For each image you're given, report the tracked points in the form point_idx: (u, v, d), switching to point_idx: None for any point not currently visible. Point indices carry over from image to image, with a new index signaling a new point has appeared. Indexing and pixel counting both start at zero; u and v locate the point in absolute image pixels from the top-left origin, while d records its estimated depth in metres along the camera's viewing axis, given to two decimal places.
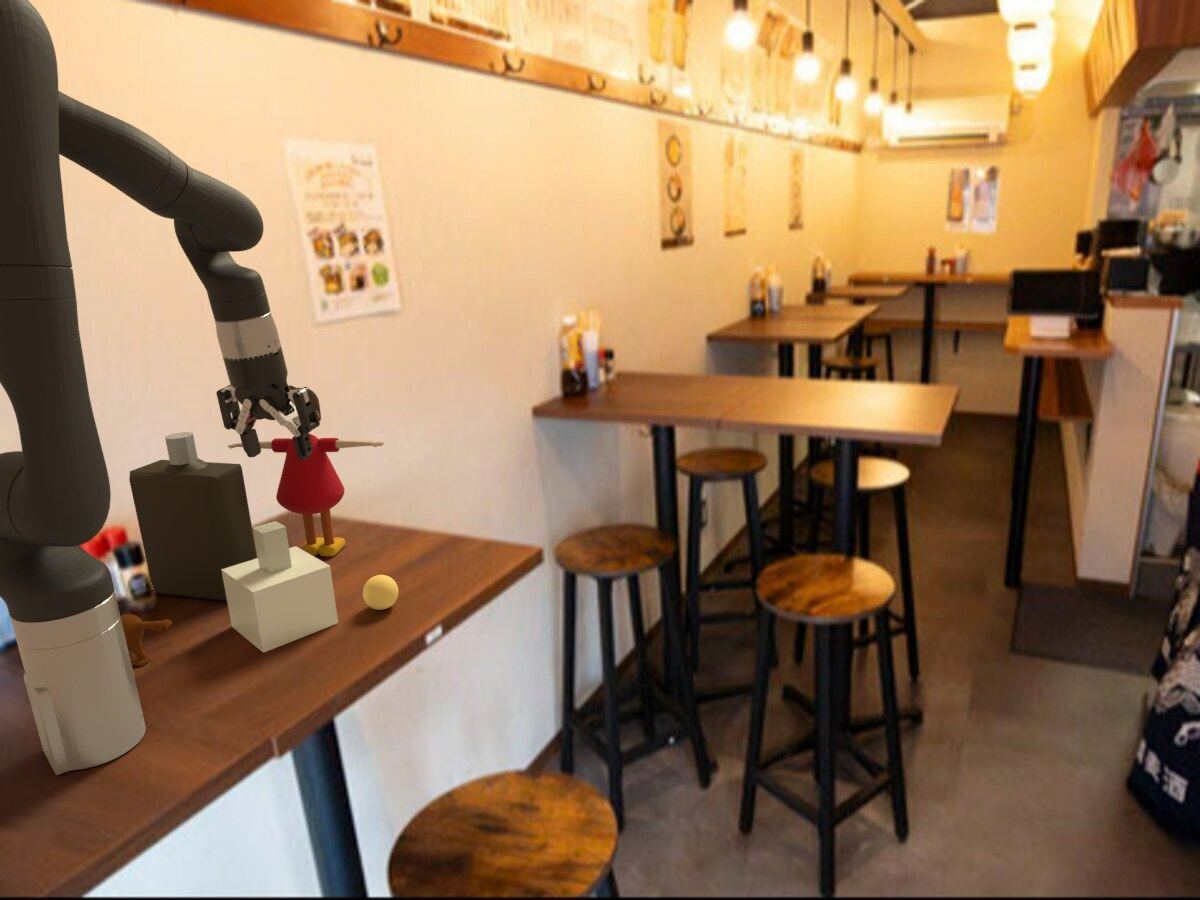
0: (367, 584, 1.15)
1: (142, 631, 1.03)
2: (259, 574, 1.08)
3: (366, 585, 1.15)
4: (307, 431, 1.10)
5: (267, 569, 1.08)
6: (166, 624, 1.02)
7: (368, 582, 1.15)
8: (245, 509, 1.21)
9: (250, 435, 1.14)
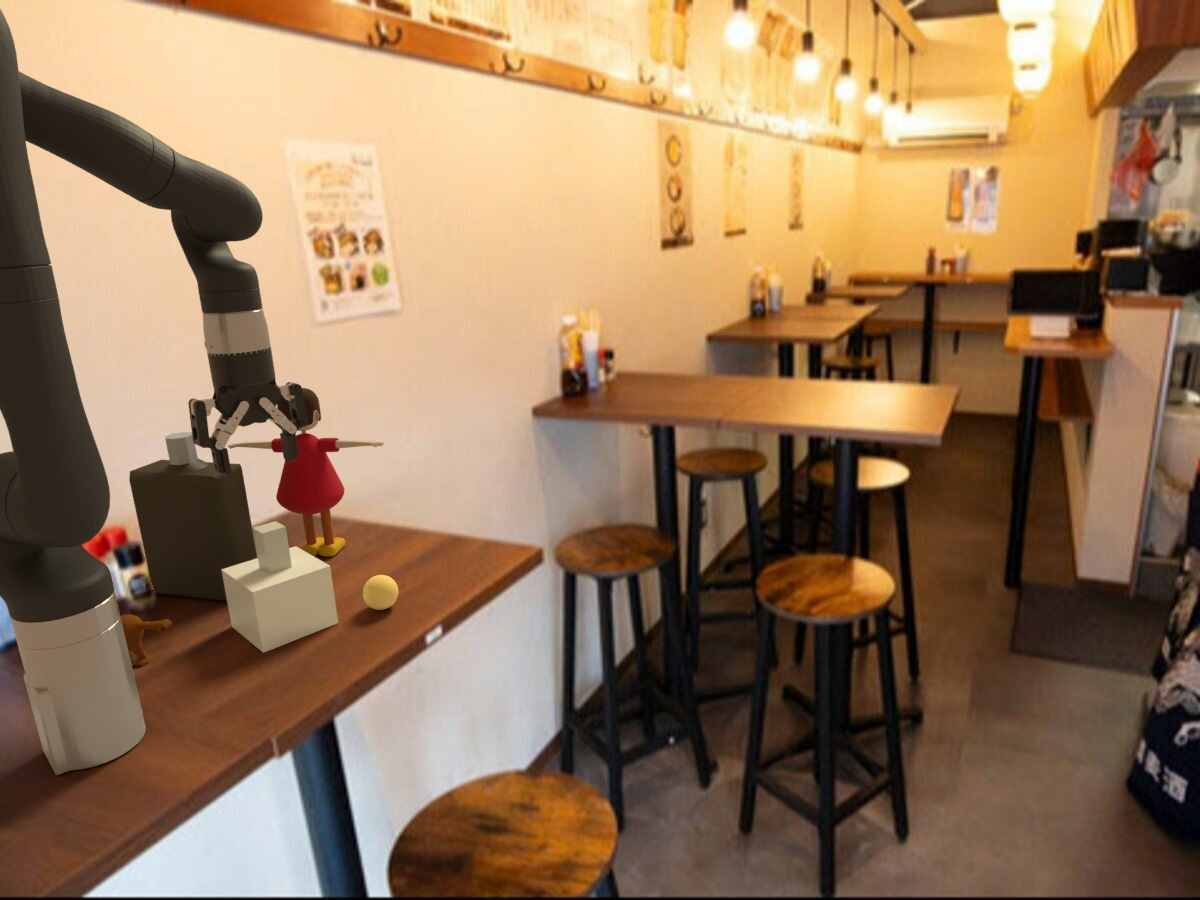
0: (367, 584, 1.15)
1: (142, 631, 1.03)
2: (259, 574, 1.08)
3: (366, 585, 1.15)
4: (306, 424, 1.09)
5: (267, 569, 1.08)
6: (166, 624, 1.02)
7: (368, 582, 1.15)
8: (245, 509, 1.21)
9: None
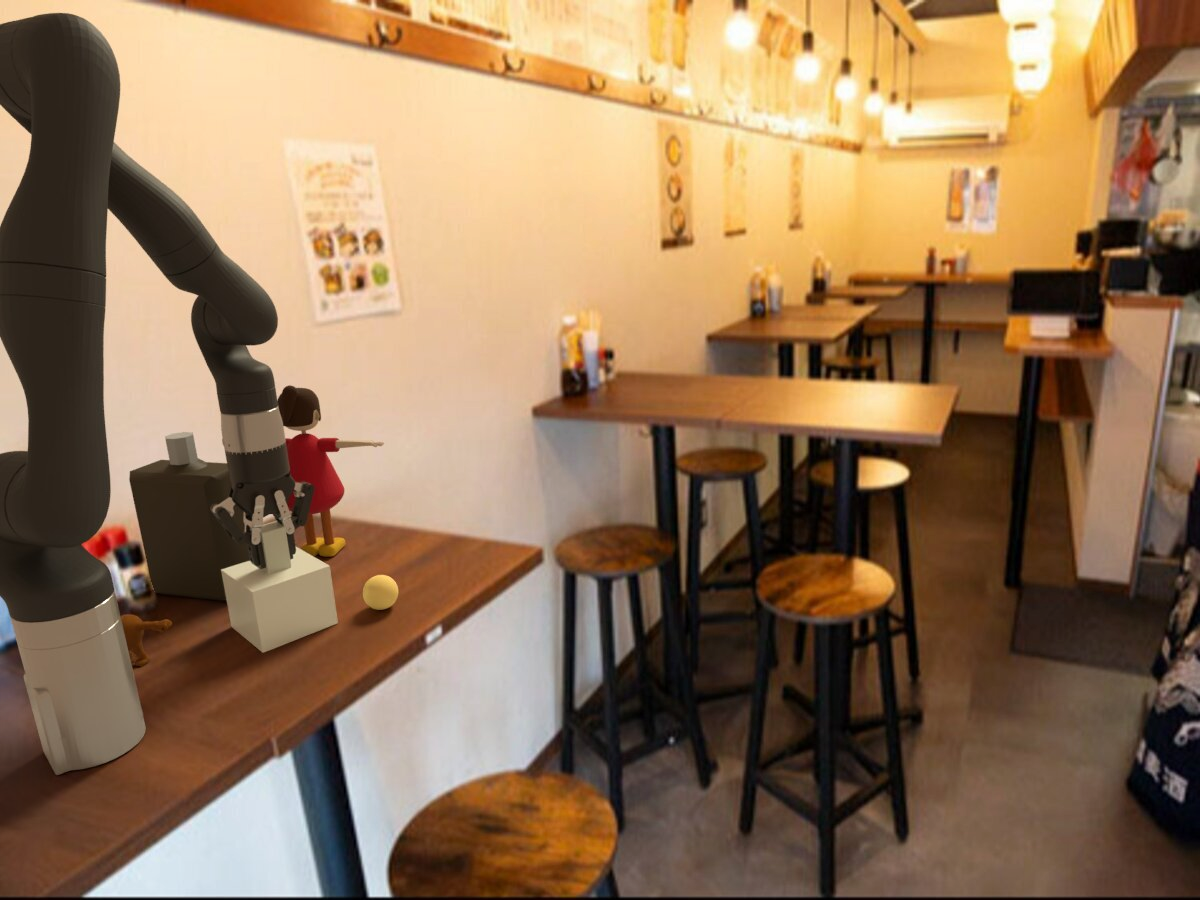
0: (367, 584, 1.15)
1: (142, 631, 1.03)
2: (259, 574, 1.08)
3: (366, 585, 1.15)
4: (303, 523, 1.11)
5: (267, 569, 1.08)
6: (166, 624, 1.02)
7: (368, 582, 1.15)
8: None
9: None
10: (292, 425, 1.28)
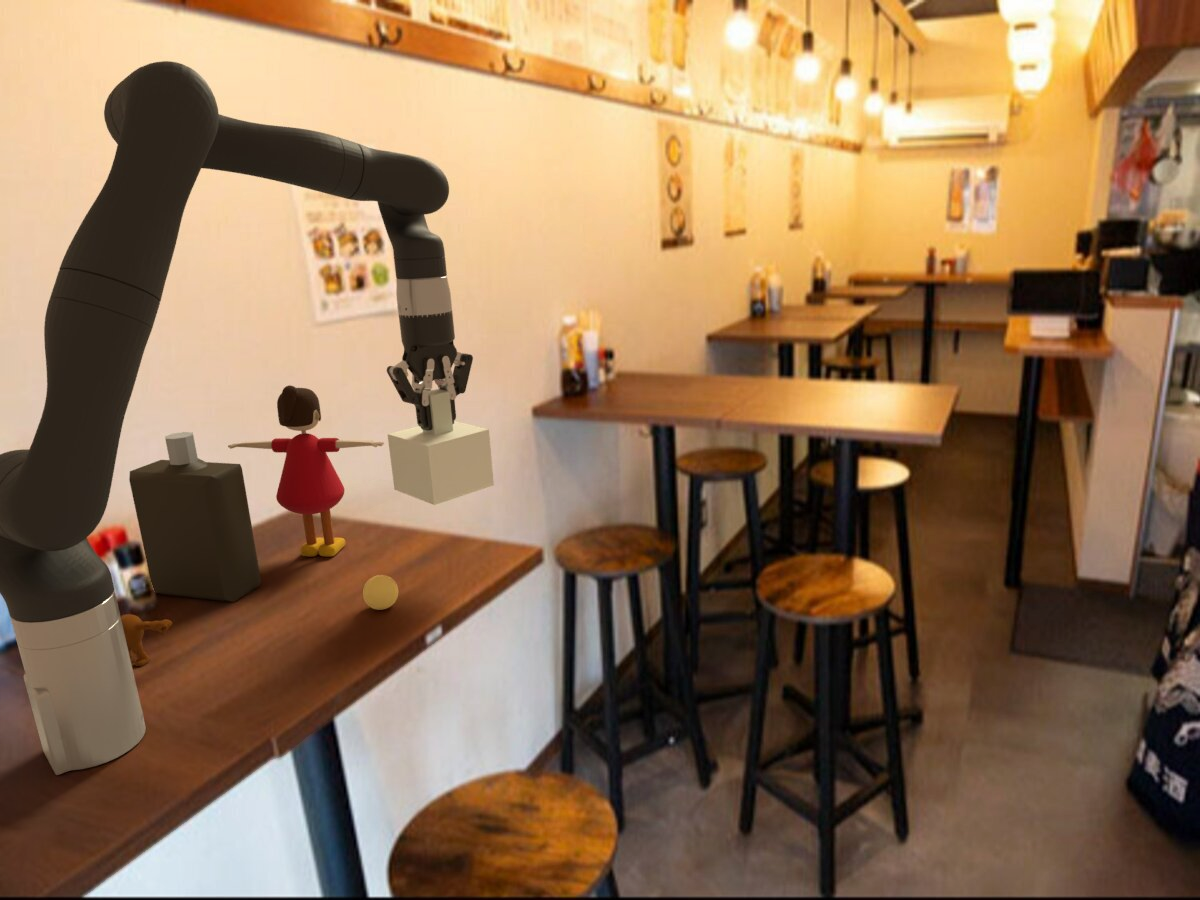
0: (367, 584, 1.15)
1: (142, 631, 1.03)
2: (425, 435, 1.17)
3: (366, 585, 1.15)
4: (463, 391, 1.19)
5: (433, 431, 1.17)
6: (166, 624, 1.02)
7: (368, 582, 1.15)
8: (245, 509, 1.21)
9: None
10: (292, 425, 1.28)
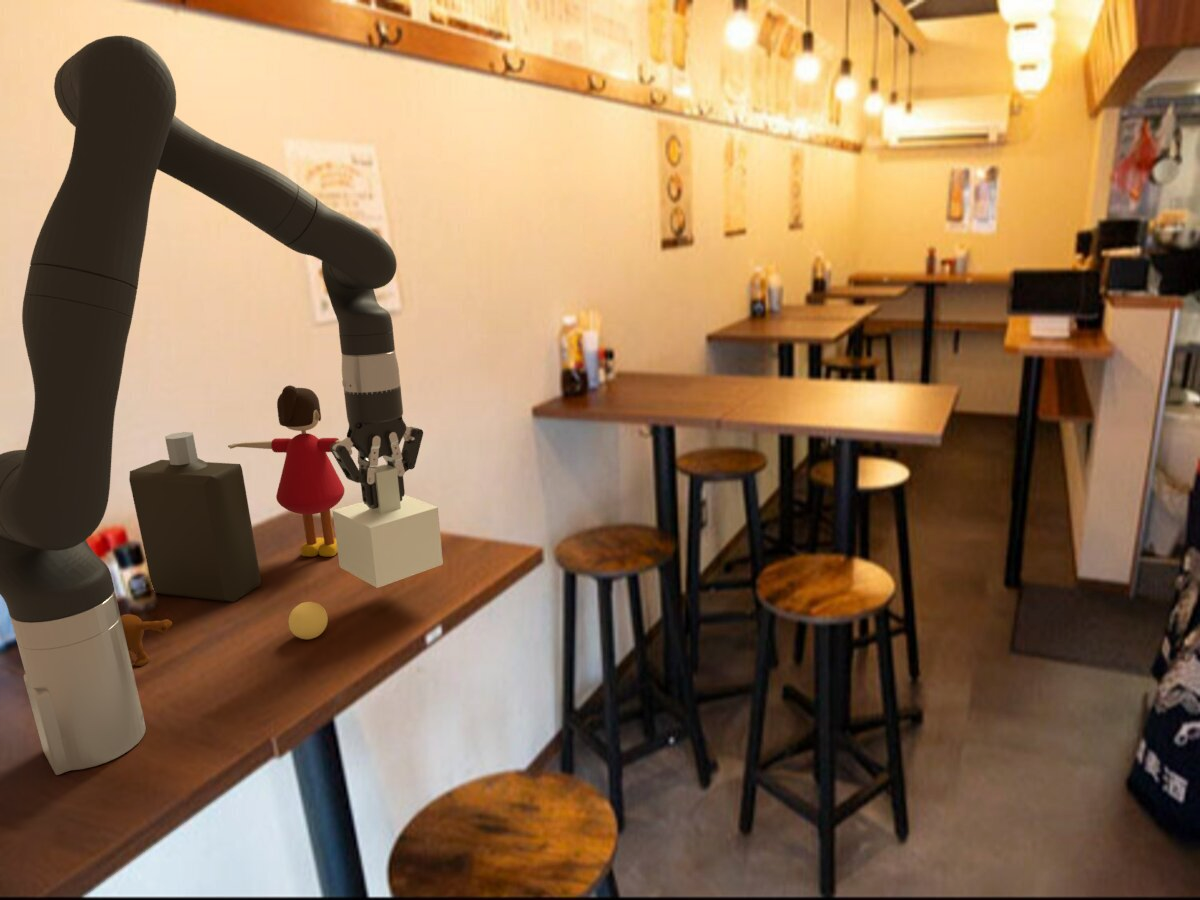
0: None
1: (142, 631, 1.03)
2: (371, 514, 1.12)
3: None
4: (412, 467, 1.15)
5: (379, 509, 1.12)
6: (166, 624, 1.02)
7: None
8: (245, 509, 1.21)
9: None
10: (292, 425, 1.28)
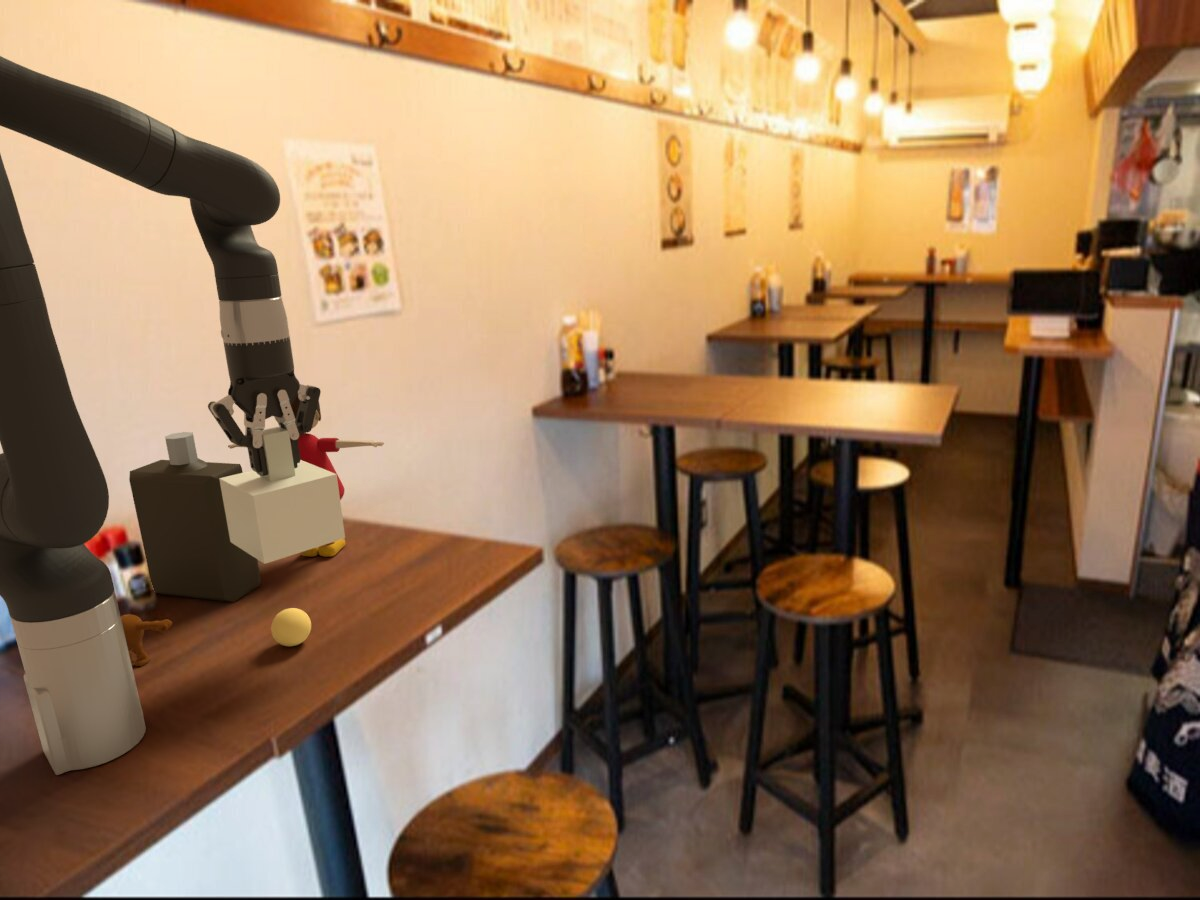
0: (290, 608, 1.07)
1: (142, 631, 1.03)
2: (260, 481, 1.00)
3: (288, 609, 1.07)
4: (309, 429, 1.03)
5: (269, 476, 1.00)
6: (166, 624, 1.02)
7: (292, 608, 1.07)
8: None
9: None
10: None
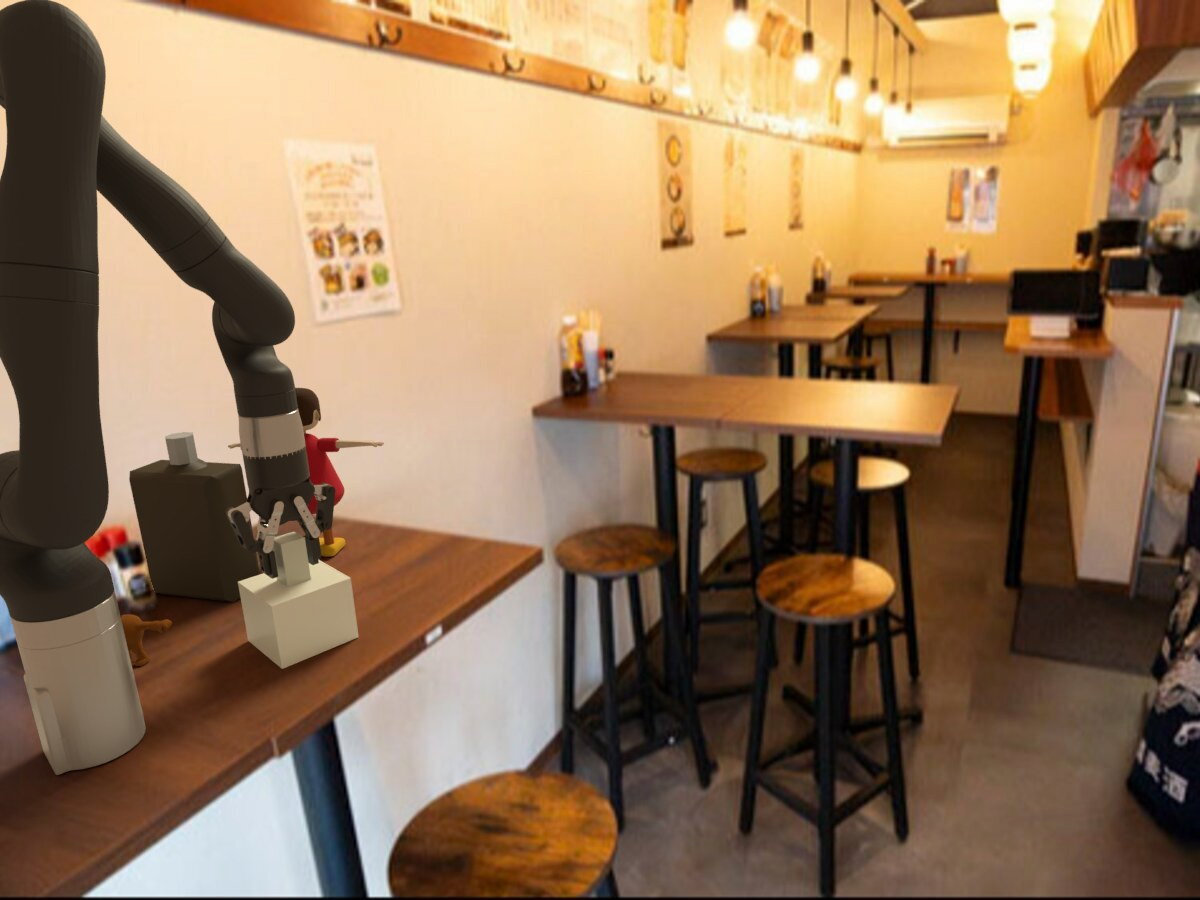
0: None
1: (142, 631, 1.03)
2: (277, 587, 1.04)
3: None
4: (329, 527, 1.07)
5: (285, 582, 1.04)
6: (166, 624, 1.02)
7: None
8: None
9: None
10: None
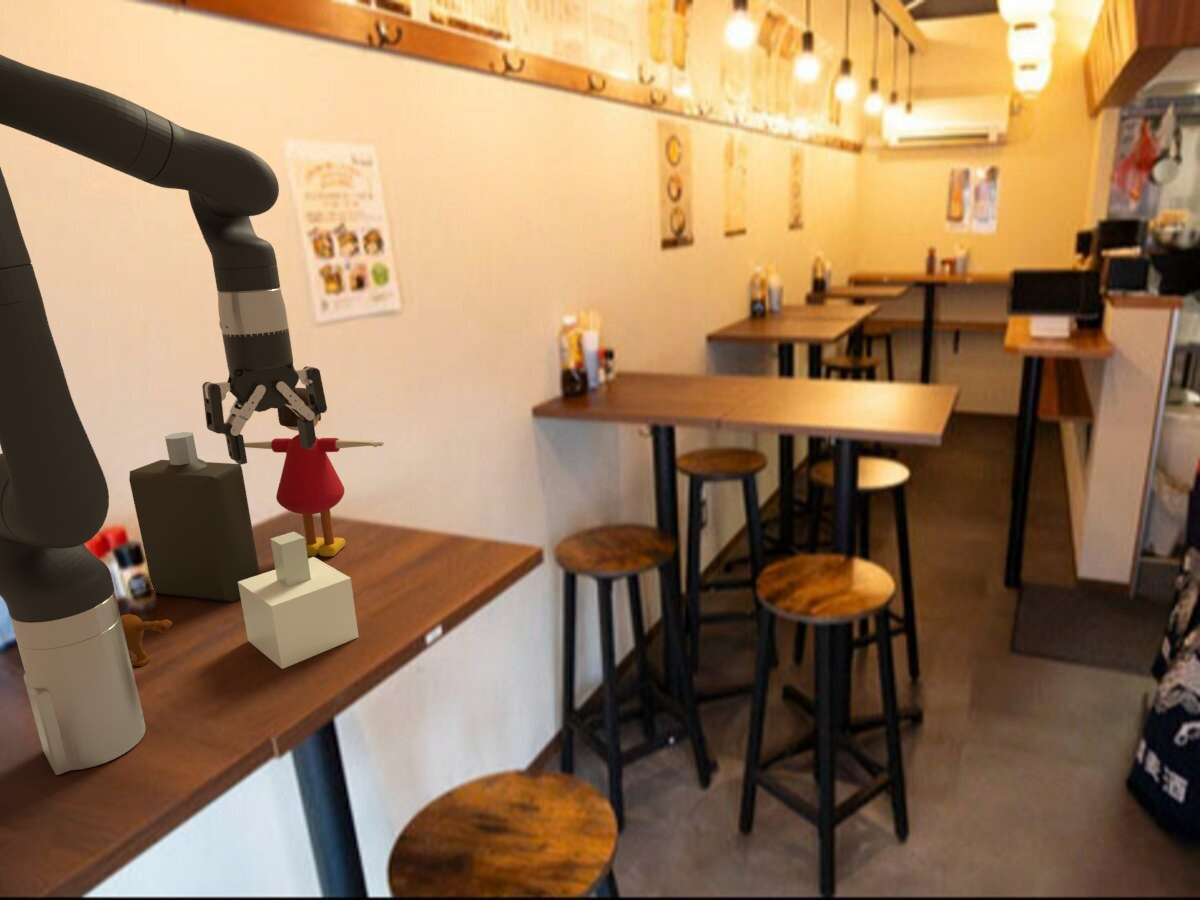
0: None
1: (142, 631, 1.03)
2: (277, 587, 1.04)
3: None
4: (324, 410, 1.04)
5: (285, 582, 1.04)
6: (166, 624, 1.02)
7: None
8: (245, 509, 1.21)
9: None
10: (292, 425, 1.28)
